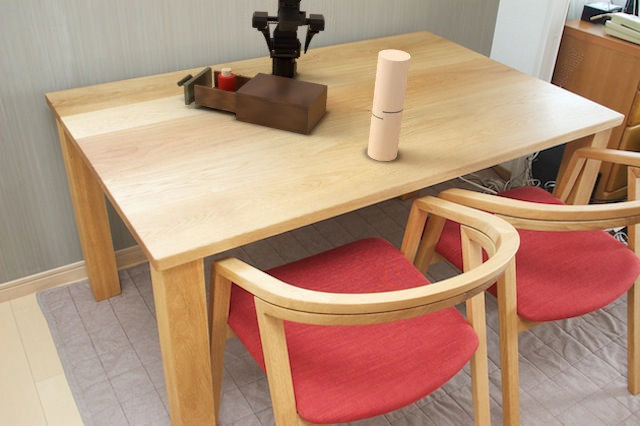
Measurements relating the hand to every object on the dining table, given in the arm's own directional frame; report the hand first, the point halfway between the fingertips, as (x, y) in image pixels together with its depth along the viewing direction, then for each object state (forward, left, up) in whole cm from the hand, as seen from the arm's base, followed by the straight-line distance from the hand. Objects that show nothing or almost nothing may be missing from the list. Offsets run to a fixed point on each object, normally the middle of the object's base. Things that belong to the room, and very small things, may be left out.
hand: (287, 52), depth 175 cm
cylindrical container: (+33, -19, -14) cm, 40 cm away
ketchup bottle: (-13, -10, -12) cm, 20 cm away
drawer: (-15, -10, -13) cm, 22 cm away
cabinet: (+3, -10, -14) cm, 17 cm away
